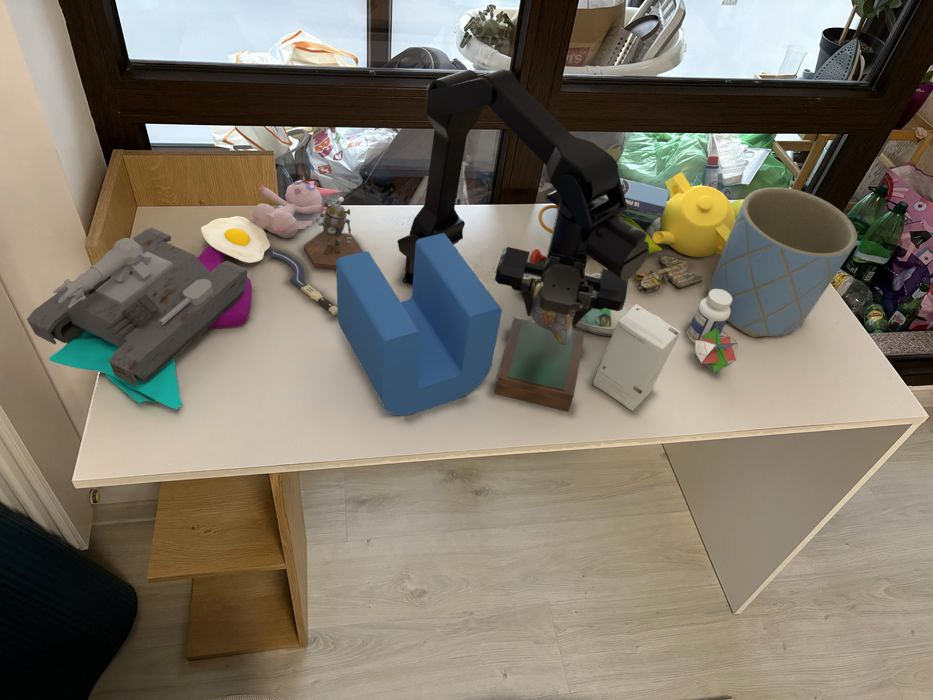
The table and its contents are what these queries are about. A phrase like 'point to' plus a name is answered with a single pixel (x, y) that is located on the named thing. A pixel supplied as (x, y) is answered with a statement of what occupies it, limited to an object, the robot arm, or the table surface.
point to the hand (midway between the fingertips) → (550, 319)
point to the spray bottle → (242, 307)
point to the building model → (667, 275)
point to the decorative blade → (297, 280)
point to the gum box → (641, 200)
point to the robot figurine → (332, 238)
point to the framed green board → (539, 366)
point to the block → (419, 327)
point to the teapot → (695, 219)
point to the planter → (781, 259)
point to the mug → (551, 319)
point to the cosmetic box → (635, 356)
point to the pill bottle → (710, 314)
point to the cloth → (96, 355)
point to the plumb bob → (652, 245)
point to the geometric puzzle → (715, 350)
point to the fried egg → (237, 238)
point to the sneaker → (594, 319)
